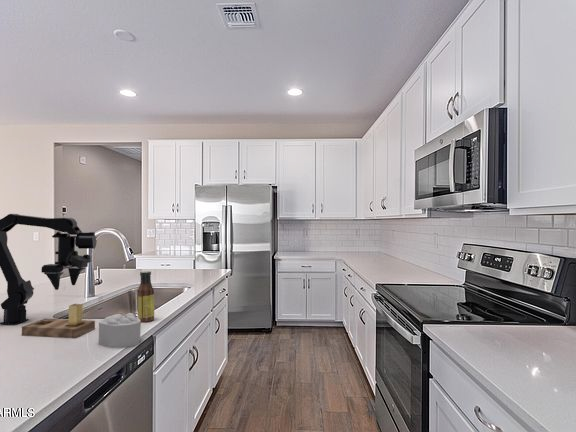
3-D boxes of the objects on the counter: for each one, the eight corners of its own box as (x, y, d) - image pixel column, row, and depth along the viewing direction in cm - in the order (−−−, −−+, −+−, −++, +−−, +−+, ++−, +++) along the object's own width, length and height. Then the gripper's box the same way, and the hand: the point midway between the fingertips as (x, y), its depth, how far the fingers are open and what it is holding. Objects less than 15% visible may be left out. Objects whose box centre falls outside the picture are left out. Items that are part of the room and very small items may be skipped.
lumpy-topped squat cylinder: (118, 334, 122) (119, 310, 122) (148, 339, 117) (148, 314, 117) (93, 344, 112) (94, 317, 112) (124, 350, 107) (125, 322, 108)
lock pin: (68, 334, 121) (68, 305, 121) (74, 331, 124) (74, 303, 124) (76, 334, 121) (76, 306, 121) (81, 331, 124) (82, 304, 124)
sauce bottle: (157, 318, 142) (158, 270, 142) (149, 323, 135) (150, 273, 136) (142, 317, 142) (143, 270, 142) (133, 322, 136) (135, 272, 136)
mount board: (21, 335, 119) (21, 326, 119) (44, 326, 129) (44, 318, 129) (75, 338, 117) (76, 329, 117) (94, 328, 127) (94, 320, 127)
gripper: (68, 251, 128) (67, 293, 128) (100, 247, 146) (99, 283, 146) (40, 250, 129) (39, 291, 129) (75, 246, 147) (74, 282, 147)
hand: (65, 287), depth 138 cm, fingers open, 9 cm apart
